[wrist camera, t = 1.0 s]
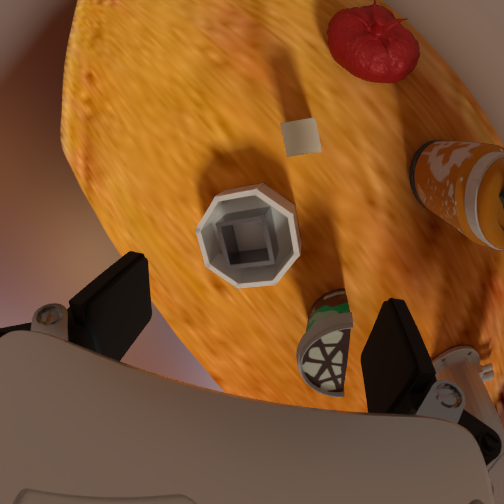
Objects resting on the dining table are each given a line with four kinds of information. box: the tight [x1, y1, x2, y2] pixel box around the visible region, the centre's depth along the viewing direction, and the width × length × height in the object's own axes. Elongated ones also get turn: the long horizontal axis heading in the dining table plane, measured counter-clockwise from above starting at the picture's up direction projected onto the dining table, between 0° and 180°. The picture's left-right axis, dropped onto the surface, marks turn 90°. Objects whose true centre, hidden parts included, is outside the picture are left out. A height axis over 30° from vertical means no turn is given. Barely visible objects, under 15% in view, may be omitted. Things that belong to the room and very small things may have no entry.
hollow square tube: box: [216, 206, 279, 269], centre depth 33 cm, size 6×6×4 cm
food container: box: [296, 289, 353, 397], centre depth 34 cm, size 12×6×10 cm, turn 7°
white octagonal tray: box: [195, 183, 302, 289], centre depth 34 cm, size 11×11×4 cm
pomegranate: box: [327, 0, 420, 83], centre depth 21 cm, size 10×10×9 cm
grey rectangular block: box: [280, 118, 322, 157], centre depth 27 cm, size 3×3×9 cm
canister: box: [410, 140, 504, 251], centre depth 20 cm, size 9×11×20 cm
